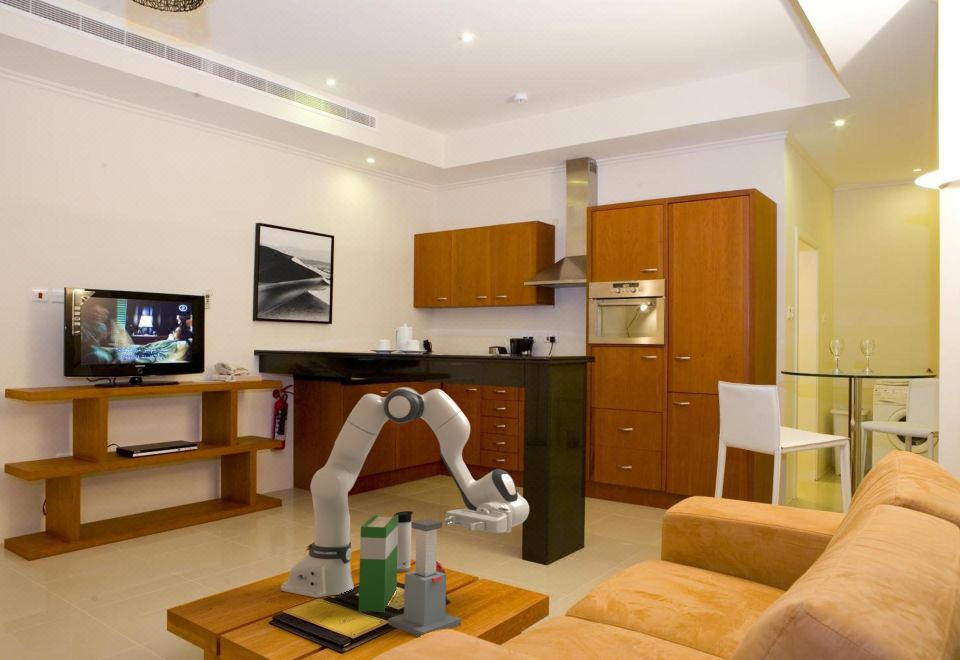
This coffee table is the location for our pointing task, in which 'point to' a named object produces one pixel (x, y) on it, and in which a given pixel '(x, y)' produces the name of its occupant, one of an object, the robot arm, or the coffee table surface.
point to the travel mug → (404, 541)
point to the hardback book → (378, 562)
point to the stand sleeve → (424, 605)
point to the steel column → (426, 546)
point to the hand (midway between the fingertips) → (457, 524)
